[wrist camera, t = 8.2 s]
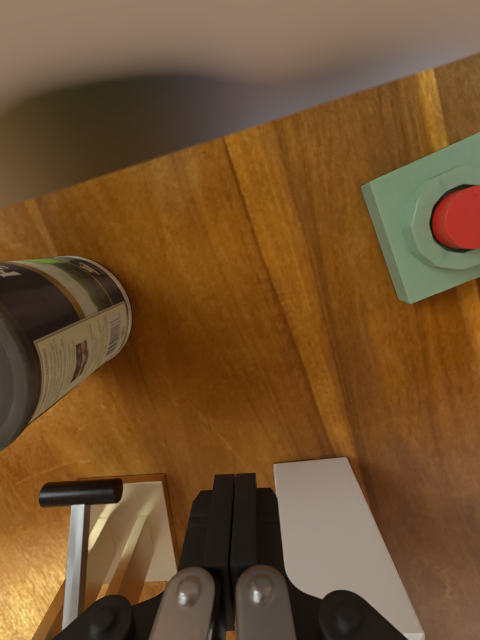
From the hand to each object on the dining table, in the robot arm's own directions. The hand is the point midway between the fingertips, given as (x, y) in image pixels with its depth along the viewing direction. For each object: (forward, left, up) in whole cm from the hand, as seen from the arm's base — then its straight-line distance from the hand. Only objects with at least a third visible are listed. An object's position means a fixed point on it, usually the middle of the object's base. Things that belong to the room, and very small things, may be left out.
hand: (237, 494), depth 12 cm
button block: (-4, +18, -18) cm, 26 cm away
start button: (-4, +18, -14) cm, 24 cm away
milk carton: (+16, 0, -18) cm, 25 cm away
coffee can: (-9, -13, -18) cm, 24 cm away
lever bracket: (+13, -19, -18) cm, 29 cm away
